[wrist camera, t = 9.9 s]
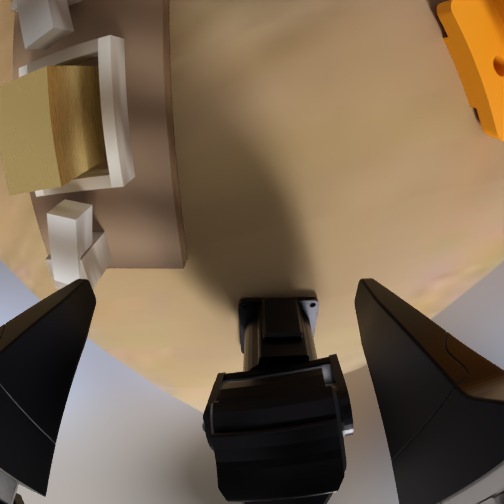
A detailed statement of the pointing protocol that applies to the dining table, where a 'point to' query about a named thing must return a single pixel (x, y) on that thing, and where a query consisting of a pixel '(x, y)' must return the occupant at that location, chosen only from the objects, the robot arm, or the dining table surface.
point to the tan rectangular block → (50, 127)
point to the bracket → (478, 56)
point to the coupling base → (110, 137)
